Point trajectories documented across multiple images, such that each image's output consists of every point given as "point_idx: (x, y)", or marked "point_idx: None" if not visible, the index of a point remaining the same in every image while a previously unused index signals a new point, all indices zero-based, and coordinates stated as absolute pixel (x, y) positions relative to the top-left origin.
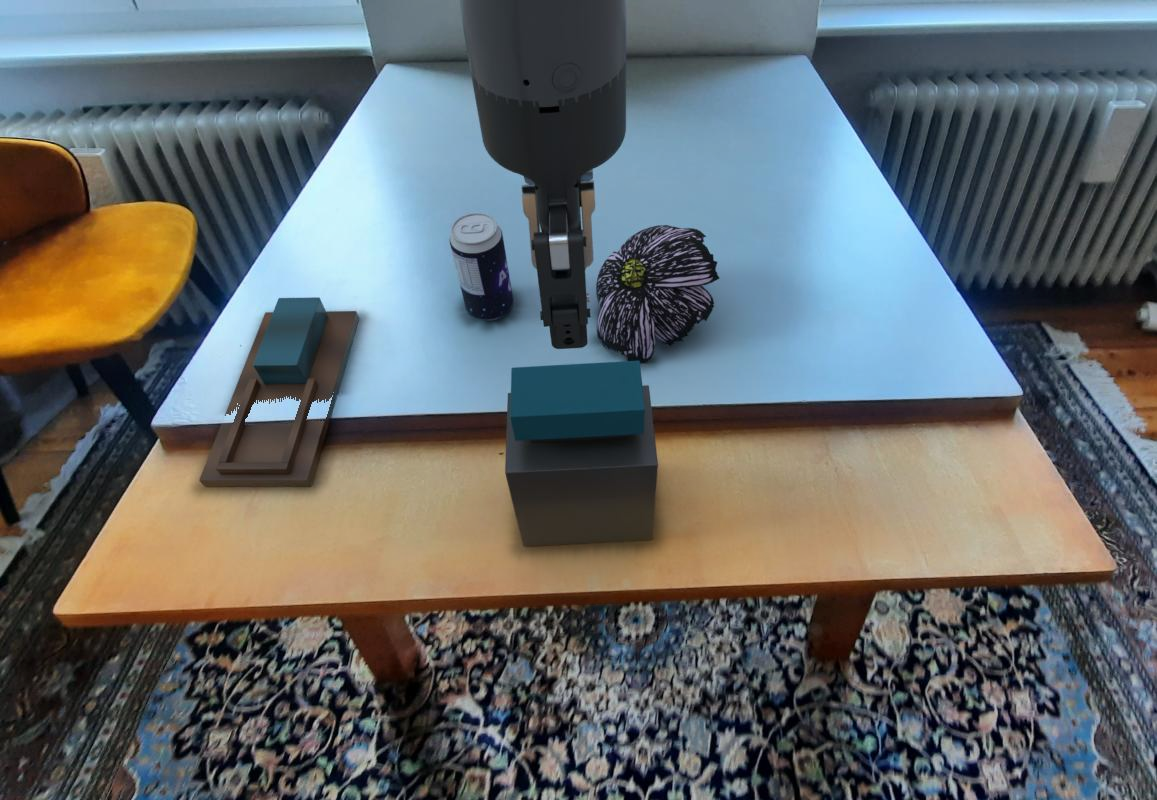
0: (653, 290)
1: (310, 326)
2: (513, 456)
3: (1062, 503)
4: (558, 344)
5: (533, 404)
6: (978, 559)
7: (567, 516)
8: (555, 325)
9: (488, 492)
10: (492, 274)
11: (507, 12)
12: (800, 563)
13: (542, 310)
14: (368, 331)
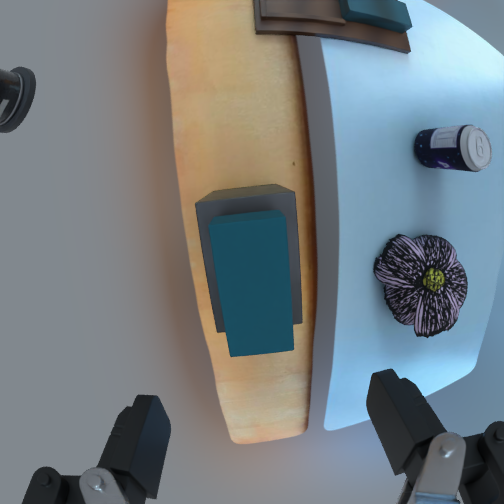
0: (417, 294)
1: (386, 19)
2: (214, 208)
3: (261, 441)
4: (117, 418)
5: (228, 250)
6: (231, 417)
7: None
8: (103, 451)
9: (257, 158)
10: (445, 157)
11: None
12: (218, 357)
13: (26, 495)
14: (397, 59)
